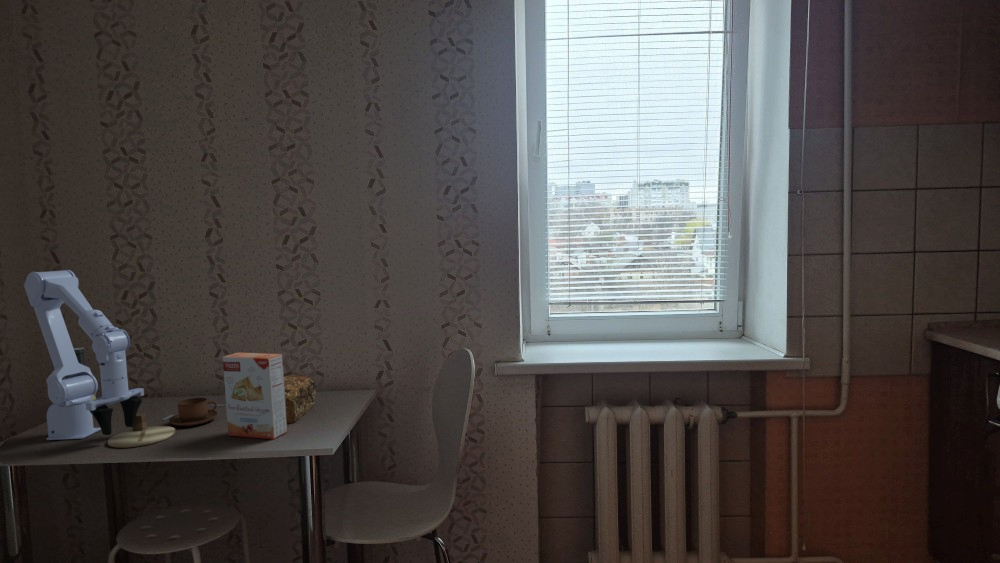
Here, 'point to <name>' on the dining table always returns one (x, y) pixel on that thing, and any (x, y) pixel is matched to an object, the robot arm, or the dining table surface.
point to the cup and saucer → (193, 412)
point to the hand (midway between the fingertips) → (118, 430)
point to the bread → (298, 396)
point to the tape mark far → (219, 405)
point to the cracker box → (255, 395)
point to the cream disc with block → (141, 434)
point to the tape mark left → (167, 417)
